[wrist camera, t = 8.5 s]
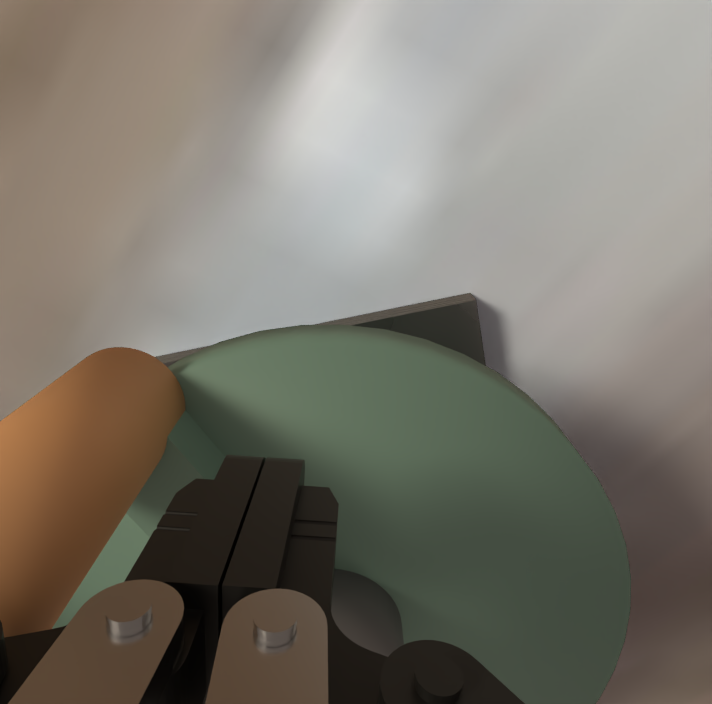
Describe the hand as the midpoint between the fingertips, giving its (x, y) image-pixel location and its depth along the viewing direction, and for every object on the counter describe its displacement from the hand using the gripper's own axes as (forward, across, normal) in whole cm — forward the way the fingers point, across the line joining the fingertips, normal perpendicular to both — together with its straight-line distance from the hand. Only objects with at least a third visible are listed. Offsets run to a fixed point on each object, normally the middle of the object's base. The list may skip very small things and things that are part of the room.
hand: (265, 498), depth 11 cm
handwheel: (+6, -1, +7) cm, 9 cm away
